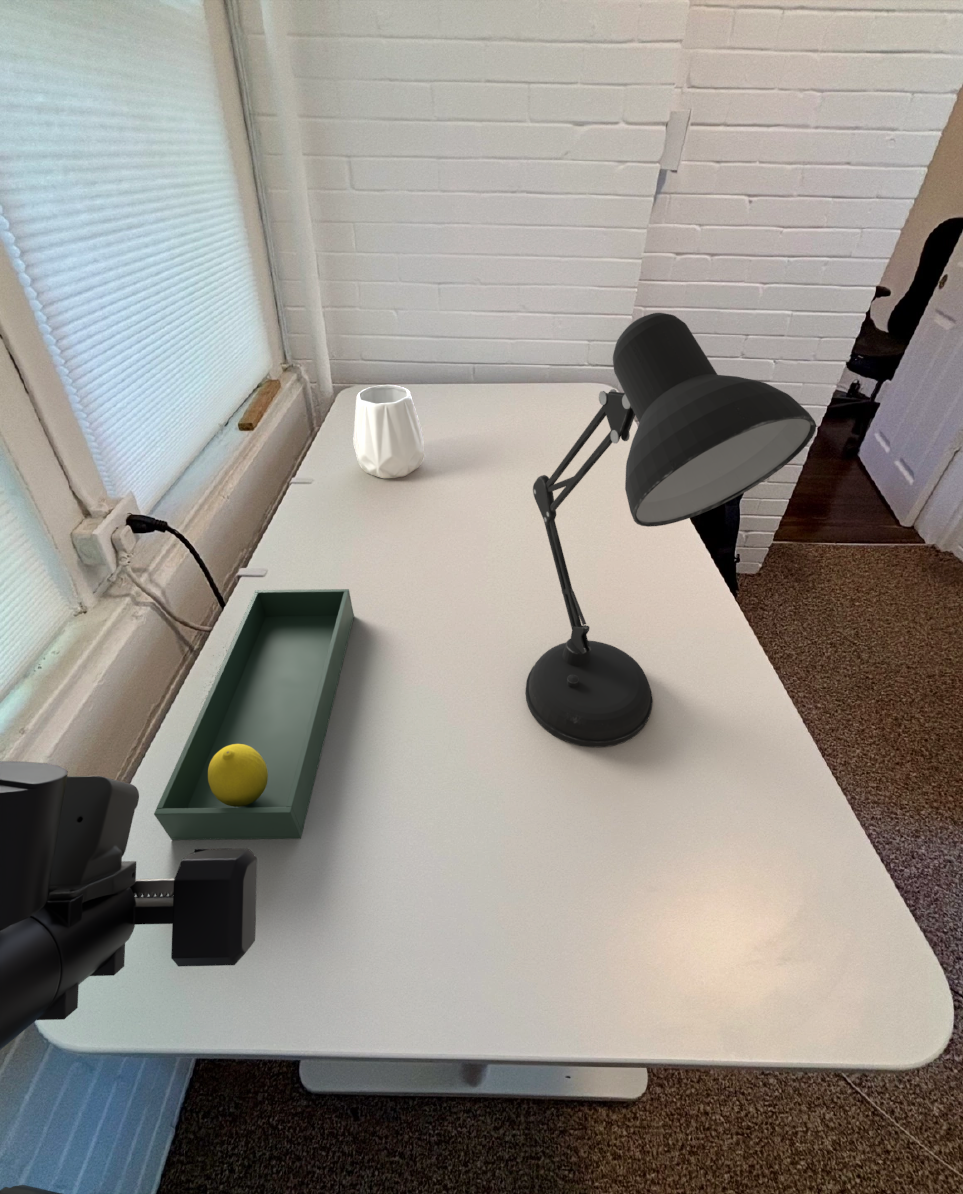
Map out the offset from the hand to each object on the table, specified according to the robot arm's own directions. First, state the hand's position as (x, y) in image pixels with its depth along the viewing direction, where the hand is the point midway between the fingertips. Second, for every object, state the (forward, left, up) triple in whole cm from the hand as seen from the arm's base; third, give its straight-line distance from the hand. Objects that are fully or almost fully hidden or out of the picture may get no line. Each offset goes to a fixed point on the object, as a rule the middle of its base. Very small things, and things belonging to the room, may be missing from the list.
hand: (168, 861), depth 45 cm
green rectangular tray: (+23, +12, -13) cm, 29 cm away
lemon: (+12, +6, -13) cm, 19 cm away
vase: (+84, +30, -14) cm, 90 cm away
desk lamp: (+39, -24, -14) cm, 48 cm away
